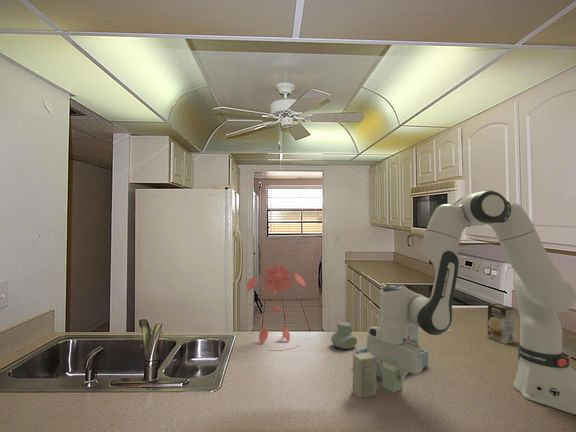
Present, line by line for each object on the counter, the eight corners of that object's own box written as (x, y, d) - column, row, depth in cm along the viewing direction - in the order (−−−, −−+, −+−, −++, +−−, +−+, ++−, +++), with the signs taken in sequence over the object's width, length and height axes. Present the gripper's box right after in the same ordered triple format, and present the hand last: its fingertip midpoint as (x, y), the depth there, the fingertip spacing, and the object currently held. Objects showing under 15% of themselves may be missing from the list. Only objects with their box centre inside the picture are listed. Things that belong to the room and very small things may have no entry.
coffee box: (486, 337, 164) (486, 303, 164) (495, 336, 167) (496, 303, 167) (504, 344, 156) (505, 308, 156) (514, 342, 158) (514, 307, 158)
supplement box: (414, 341, 157) (415, 316, 157) (418, 346, 151) (419, 320, 151) (401, 340, 158) (402, 315, 158) (405, 345, 152) (405, 319, 152)
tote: (427, 366, 130) (428, 351, 130) (385, 382, 117) (386, 364, 117) (396, 353, 142) (396, 339, 142) (355, 366, 129) (355, 350, 129)
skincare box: (369, 389, 112) (369, 351, 112) (376, 395, 107) (377, 357, 107) (351, 391, 110) (352, 353, 110) (358, 398, 105) (359, 359, 106)
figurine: (244, 339, 154) (246, 261, 153) (299, 336, 159) (302, 261, 159) (247, 353, 139) (250, 267, 138) (309, 350, 144) (311, 267, 144)
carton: (402, 388, 112) (403, 358, 112) (393, 392, 110) (393, 361, 110) (391, 383, 116) (391, 353, 116) (382, 386, 114) (382, 356, 114)
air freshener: (346, 341, 155) (346, 319, 155) (359, 347, 148) (360, 324, 148) (327, 346, 149) (328, 323, 149) (341, 352, 142) (341, 328, 142)
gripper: (427, 342, 106) (426, 387, 106) (376, 324, 123) (375, 363, 123) (414, 346, 103) (413, 392, 103) (364, 327, 120) (363, 367, 120)
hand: (392, 376), depth 113 cm, fingers open, 6 cm apart
